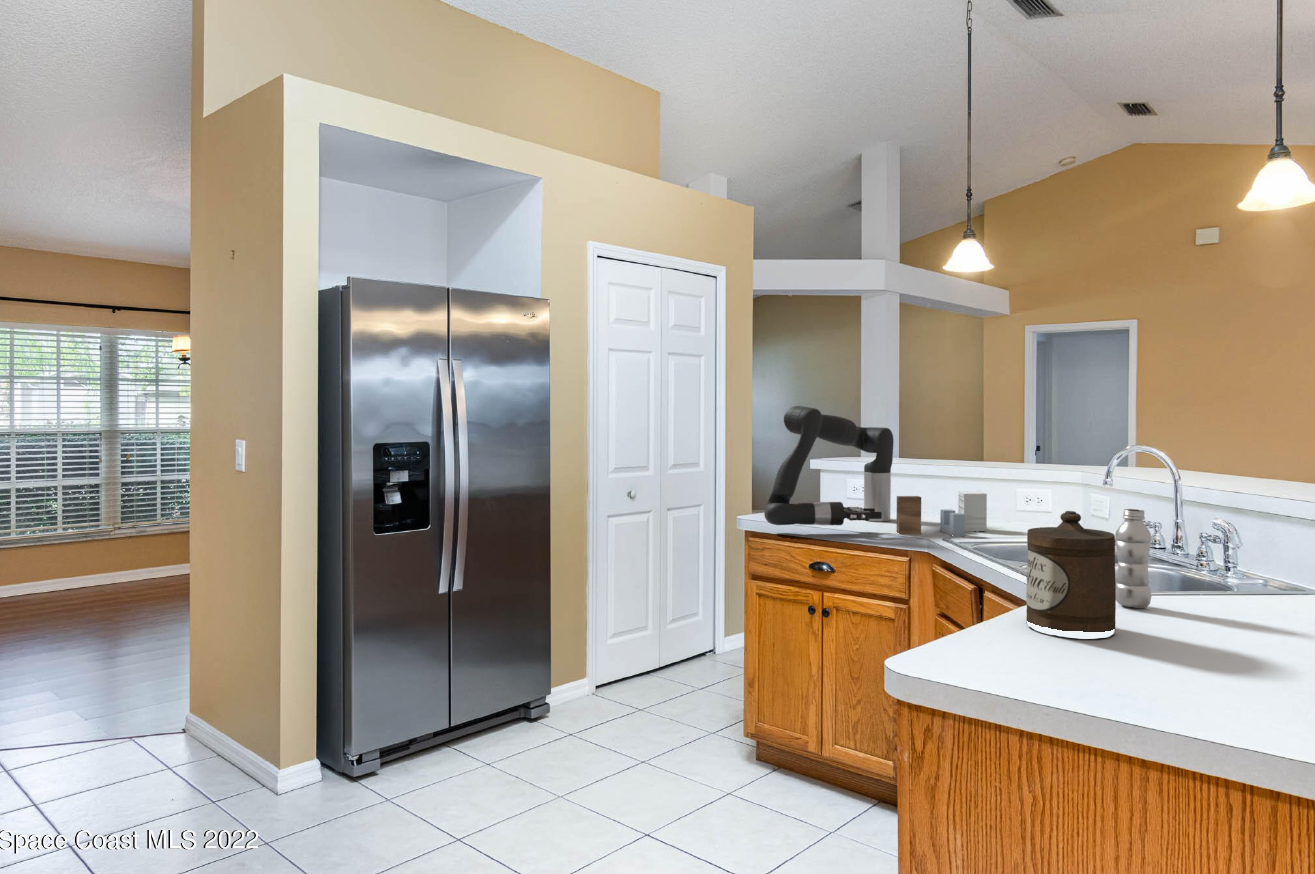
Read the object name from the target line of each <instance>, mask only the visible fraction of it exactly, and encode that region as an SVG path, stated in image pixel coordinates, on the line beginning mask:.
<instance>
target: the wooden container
mask: <svg viewBox="0 0 1315 874" xmlns="http://www.w3.org/2000/svg"><path fill="white" fill-rule="evenodd" d="M1059 517H1060V520H1061V522H1060V524H1058V525H1057V526H1045V527H1044V526H1041V527H1040V526H1039V527H1032V528H1028V529H1027V534H1026V536H1027V537H1026V540H1027V563H1026V566H1027V567H1026V571H1027V572H1026V589H1025V590H1026V592H1025V594H1026V595H1025V596H1026V603H1025V604H1026V622H1027V621H1028V622H1030V623H1033V624H1035V625H1039V626H1041V627H1048V628H1051V629H1057V630H1062V631H1083V632H1105V631H1111V630H1113V629H1115V630H1116V611H1117V610H1116V608H1117V607H1116V605H1117V603H1116V602H1117V601H1116V583H1117V581H1116V553H1115V552H1116V539H1115V534H1114V533H1113V532H1110V531H1106V530H1101V529H1094V528H1093V529H1092V528H1084V527H1083V526H1082V524H1080V522H1081V520H1082V516H1081V514H1080V513H1078V512H1076V511H1074V510H1065V512H1063V513H1061V514H1060V516H1059Z"/></svg>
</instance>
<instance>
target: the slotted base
mask: <svg viewBox="0 0 1315 874" xmlns="http://www.w3.org/2000/svg"><path fill="white" fill-rule="evenodd" d="M939 514H940V516H939V517H940V520H939V521H940V522H939V523H940V524H939V525H940V529H939V530H940V532H942V533H944V532H945V533H944V534H947V535H949V536H951V535H953V536H965V534H966V532H965V514H963V513H958V512H956V510H954V509H949V508H948V509H940V513H939ZM953 536H952V537H953Z"/></svg>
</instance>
